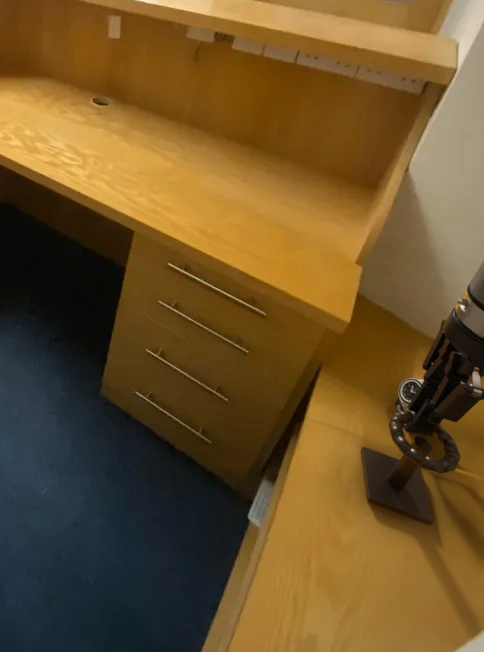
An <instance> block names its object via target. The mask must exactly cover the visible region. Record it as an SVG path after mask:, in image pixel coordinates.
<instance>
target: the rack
mask: <svg viewBox="0 0 484 652" xmlns="http://www.w3.org/2000/svg"><path fill="white" fill-rule="evenodd" d="M410 445H411V446H412V447H413V448H414V449H415V450H417V451H418V452H420V453H421V454H423V455H424V456H426V457H429V455H430V454H431V452H432V450H433V446H432V443H431V442H430V441H429V440H428V439H426V437H423V436H420V435H417V436H415V437H414V438H413V439H412V441H411V442H410ZM360 457H361V463H362V472H363V480H364V486H365V494H366V501H367V502H368V503H371V504H373V505H377V506H379V507H382V508H384V509H387V510H390V511H392V512H395V513H396V514H397V513H398V514H400V515H402V516H405V517H407V518H410V519H413V520H416V521H418V522H421V523H424V524H426V525H429V526H430V525H431V524H433V516H432V512H431V507H430V502H429V498H428V494H427V489H426V485H425V480H424V476H423V471H422V468H421V467H419V466H418V465H417V464H415V463H414V462H412V461H411V460H409V459H408V458H407V457H405V456H404V455H403V454H402V455H401V456H400V458H397V457H394V456H391V455H388V454H385V453H383V452H381V451H377V450H374V449H371V448H368V447H366V446H362V447H361V448H360Z"/></svg>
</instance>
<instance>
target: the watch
mask: <svg viewBox="0 0 484 652" xmlns="http://www.w3.org/2000/svg"><path fill="white" fill-rule="evenodd" d="M423 382H424V379H423V378H422V379H421V378H420V379H419V378H418V379H417V378H414V377H409V378H406V379H404V380H402V382H401V383H400V384H399V387H398V392H397V393H398V396H397V398H396V400H395V402H394V405H395V408H396V410H397V412H402V411H406V410H409V409H408V405H409V403H410V402H411V400H412V399H413V397H414V396H415V394H416V393H417V391H418V390H419V388H420V387H421V385H422V383H423ZM403 429H404V430H405V432H409V433H414V434H418V435H424V436H429V437H432V436H433V435H434V434H433V433H431V432H428V431H425V430H422V429H419V428H416V427H413V426H412V423H409V424H405V425H404V427H403Z"/></svg>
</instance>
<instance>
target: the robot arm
mask: <svg viewBox="0 0 484 652" xmlns="http://www.w3.org/2000/svg"><path fill="white" fill-rule="evenodd" d="M422 369H423V370H425V373H424V374H423V377H422V379H423V380H424V382H423V383H422V385H421V387H420V388H419V390H418V391H417V393H416V394H415V396H414V397H413V399H412V400H411V402H410V403H409V405H408V409H409V410H410V411H413V412H417V415H416V416H415V418H414V419H413V421H412V426H413V427H416V428H419V429H422V430H425V431H428V432H431V433H432V432H433V431H434V430H435V428H436V427H437V426H438V425H439V424H440V425H441V423H442V422H443V420H446V421H449V422H453V423H458V422H459V421H461V419H462V418H463V417H464V416H465V415H466V414H467V413H468V412H469V411H471V410H472V408H474V407H475V406H476V405H477V404H478V403H479V402H480V401H484V388H483V387H482V381H481V378H483V377H484V259H483V260H482V261H481V263H480V264H479V267H478V269H477V270H476V272H475V273H474V275H473V277H472V278H471V280H470V282H469V284H468V285H467V287H466V289H465V290H464V291H463V293H462V295H461V296H460V297H458V298H457V299H456V304H455V307H454V308H452V310H451V312H450V313H449V315H448V316H447V318H446V319H441V322H440V326H439V330H438V332H437V334H436V336H435V338H434V341H433V342H432V344H431V346H430V349H429V350H428V353H427V354H426V356H425V358H424V360H423V363H422Z"/></svg>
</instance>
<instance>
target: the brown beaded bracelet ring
mask: <svg viewBox="0 0 484 652" xmlns="http://www.w3.org/2000/svg"><path fill="white" fill-rule="evenodd" d="M416 415H417V412H413V411H410V410H406V411H402V412H398V411H397V412H395V413H393V414H392V417H391V418H390V420H389V423H388V428H389V432H390V436H391V440H392V441H393V444H395V446H396V447H397V448H398V450H399V451H400V452H401V454H402V455H404V456H405V457H407V458H408V459H409V460H411V461H412V462H414V463H415V464H417V465H418V466H419V467H421V469H423V470H426V471H430V472H432V473H436V474H440V475H441V474H446V473H450V472H453V471H455V470H457V468H458V465H459V463H460V459H461V454H460V452H459V448H458V445H457V443H456V441H455V439H454V438H453V437H452V435H451V434H450V433H449V432H448V431H447V430H446V429H445V428H444V427H443V425H441V423H440V424H439V425H438V426H437V427H436V428H435V430H434V431H433V432H432V433H433V435H434V436H435V437H436V439H438V441H439V442H440V443H441V445H442V448H443V451H444V453H443V456H442V457H439V458H433V457H429V456H427V457H426V456H424V455H423V454H421V453H420V452H418V451H417V450H415V449H414V448H413V447H412V446H411V445H410V444H411V442H409V440H408V439H407V438H406V437H405V432H404V425H405V424H409V423H412V421H413V419H414V418H415V416H416Z"/></svg>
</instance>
